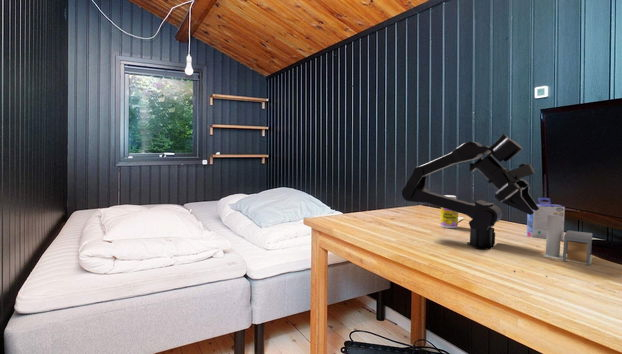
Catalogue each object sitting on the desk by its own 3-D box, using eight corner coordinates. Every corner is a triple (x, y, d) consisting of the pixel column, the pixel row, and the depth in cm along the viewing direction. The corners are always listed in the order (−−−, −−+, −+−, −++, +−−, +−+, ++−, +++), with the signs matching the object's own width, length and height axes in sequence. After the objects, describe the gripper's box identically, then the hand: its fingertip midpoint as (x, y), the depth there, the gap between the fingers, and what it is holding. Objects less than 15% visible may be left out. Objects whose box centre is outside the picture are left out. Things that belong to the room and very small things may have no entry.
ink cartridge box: (555, 238, 116) (558, 197, 115) (564, 242, 110) (567, 199, 109) (525, 236, 118) (527, 197, 117) (532, 240, 112) (534, 199, 111)
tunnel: (562, 265, 87) (564, 236, 86) (566, 257, 94) (567, 230, 93) (588, 270, 83) (590, 239, 83) (590, 261, 90) (592, 233, 89)
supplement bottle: (440, 227, 131) (441, 196, 130) (440, 224, 137) (441, 194, 136) (458, 229, 129) (459, 197, 128) (457, 226, 135) (458, 195, 134)
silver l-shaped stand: (542, 259, 91) (545, 216, 90) (546, 254, 95) (548, 213, 95) (590, 268, 84) (593, 221, 83) (591, 262, 88) (594, 218, 88)
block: (566, 259, 88) (568, 241, 88) (568, 256, 91) (569, 238, 91) (586, 262, 85) (587, 244, 85) (587, 259, 88) (588, 241, 88)
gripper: (509, 154, 90) (557, 197, 83) (522, 154, 104) (564, 191, 97) (477, 180, 96) (519, 223, 89) (494, 177, 110) (531, 214, 103)
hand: (535, 211), depth 94 cm, fingers open, 9 cm apart
